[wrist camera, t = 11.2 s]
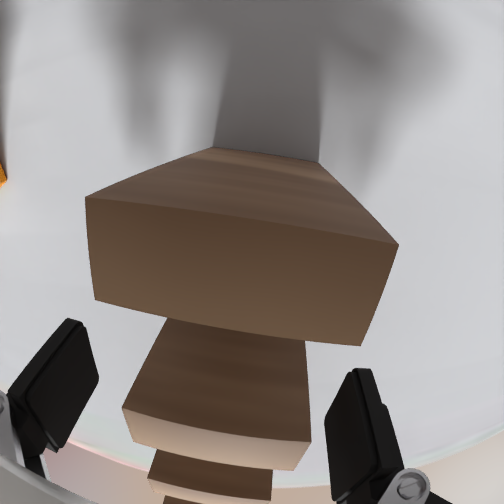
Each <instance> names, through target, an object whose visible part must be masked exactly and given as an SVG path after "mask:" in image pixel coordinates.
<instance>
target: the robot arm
mask: <svg viewBox="0 0 504 504" xmlns="http://www.w3.org/2000/svg"><path fill="white" fill-rule="evenodd" d="M98 381H99V375H98V372H97V368H96V365H95V361H94V357H93V354H92V350H91V346H90V342H89V338H88V333H87V329H86V327H84V326H83V323H82V322H80V321H77V320H74V319H70V318H67V319H65V320H64V322H63V323H62V324H61V325H60V326H59V327H58V328H57V330H56V331H55V332H54V333H53V334H52V335H51V337H50V338H49V339H48V340H47V341H46V343H45V344H44V345H43V346H42V347H41V349H40V350H39V351H38V352H37V353H36V355H35V356H34V357H33V358H32V360H31V361H30V362H29V363H28V365H27V366H26V367H25V368H24V370H23V371H22V372H21V374H20V375H19V376H18V378H17V379H16V380H15V381H14V383H13V384H12V385H11V387H10V388H9V390H8V393H7V394H5V393H4V392H2V391H1V390H0V504H97V503H95V502H93V501H90V500H88V499H85V498H83V497H81V496H79V495H77V494H75V493H72V492H70V491H68V490H66V489H64V488H62V487H60V486H58V485H56V484H54V483H52V482H51V479H50V476H49V473H48V469H47V466H46V462H45V459H44V455H43V452H44V450H45V448H48V449H50V450H52V451H54V452H56V453H57V452H58V450H59V448H63V447H64V445H65V443H66V442H67V440H68V438H69V436H70V434H71V432H72V430H73V428H74V426H75V424H76V422H77V420H78V419H79V417H80V415H81V413H82V411H83V409H84V407H85V406H86V404H87V402H88V400H89V398H90V397H91V395H92V393H93V391H94V389H95V388H96V386H97V384H98ZM324 426H325V435H326V444H327V453H328V463H329V473H330V484H331V495H332V500H333V501H336V502H337V504H452V503H450V502H448V501H446V500H444V499H443V498H441V497H439V496H438V495H436V494H434V493H432V492H431V491H430V482H429V479H428V477H427V476H426V475H425V474H424V473H423V472H421V471H420V470H417V469H413V468H408V469H404V465H403V461H402V457H401V453H400V449H399V446H398V442H397V439H396V435H395V432H394V428H393V425H392V421H391V418H390V415H389V411H388V409H387V406H386V405H385V404H382V402H381V398H380V395H379V392H378V389H377V385H376V382H375V379H374V376H373V373H372V371H371V369H366V368H354V369H353V370H352V372H348V373H347V375H346V377H345V379H344V381H343V383H342V385H341V387H340V389H339V391H338V393H337V395H336V397H335V399H334V401H333V403H332V405H331V406H330V408H329V410H328V412H327V414H326V416H325V420H324Z"/></svg>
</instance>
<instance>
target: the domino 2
mask: <svg viewBox="0 0 504 504" xmlns="http://www.w3.org/2000/svg"><path fill="white" fill-rule="evenodd" d="M122 411H123V414H124V417H125V420H126V423H127V425H128V428H129V431H130V434H131V437H132V439H133V442H136V443H139V444H142V445H145V446H149V447H152V448H156V449H159V450H163V451H167V452H171V453H175V454H179V455H183V456H188V457H192V458H197V459H202V460H207V461H212V462H218V463H224V464H230V465H237V466H244V467H252V468H262V469H272V470H287V471H294V469H295V468H296V466H297V465H298V463H299V461H300V460H301V458H302V457H303V455H304V454H305V452H306V450H307V449H308V447H309V445H310V444H311V422H310V404H309V388H308V373H307V360H306V348H305V340H297V339H289V338H281V337H274V336H267V335H261V334H254V333H248V332H242V331H236V330H230V329H224V328H218V327H213V326H207V325H202V324H197V323H192V322H187V321H182V320H177V319H172V318H167V320H166V322H165V323H164V325H163V327H162V329H161V331H160V333H159V335H158V337H157V339H156V340H155V342H154V344H153V346H152V348H151V350H150V352H149V354H148V356H147V358H146V360H145V362H144V364H143V366H142V368H141V370H140V371H139V373H138V375H137V377H136V379H135V381H134V383H133V385H132V387H131V389H130V391H129V393H128V395H127V397H126V400H125V402H124V404H123V406H122Z"/></svg>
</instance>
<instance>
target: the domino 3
mask: <svg viewBox="0 0 504 504" xmlns="http://www.w3.org/2000/svg"><path fill="white" fill-rule="evenodd" d="M272 475H273V470H272V469H262V468H252V467H244V466H237V465H230V464H224V463H218V462H212V461H207V460H202V459H197V458H192V457H188V456H183V455H179V454H175V453H171V452H167V451H163V450H159V449H157V450H156V453H155V456H154V459H153V462H152V465H151V468H150V471H149V474H148V477H147V479H148V481H149V483H150V485H151V488H152V490H153V492H156V493H160V494H164V495H167V496H171V497H175V498H179V499H183V500H188V501H192V502H197V503H202V504H269V502H270V501H271V490H272Z"/></svg>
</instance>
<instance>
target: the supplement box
mask: <svg viewBox="0 0 504 504" xmlns="http://www.w3.org/2000/svg"><path fill="white" fill-rule="evenodd" d="M6 181H7V179H6V177H5V174H4V171H3V169H2V166H1V163H0V188H1V187H2V186H3V184H4V183H5V182H6Z"/></svg>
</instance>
